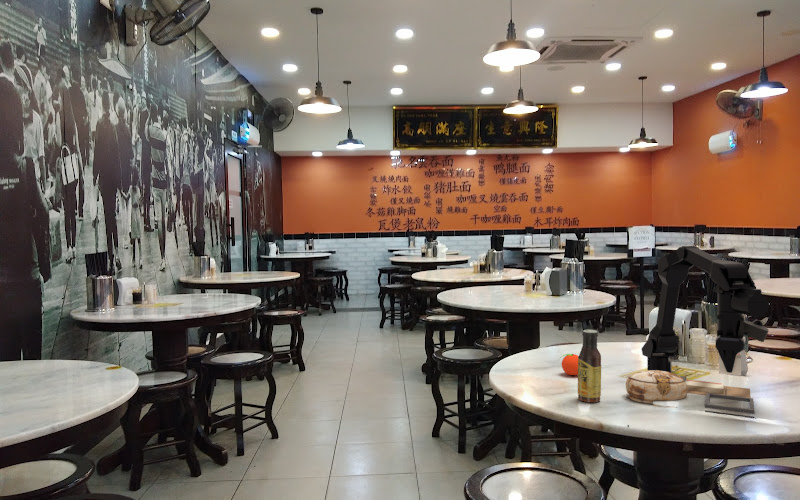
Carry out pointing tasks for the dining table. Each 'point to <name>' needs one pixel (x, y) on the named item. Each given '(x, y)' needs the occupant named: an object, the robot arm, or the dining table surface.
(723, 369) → the stub
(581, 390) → the sauce bottle
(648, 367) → the robot arm
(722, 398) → the tray
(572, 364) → the clementine
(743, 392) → the board
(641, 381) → the trinket box
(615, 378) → the dining table surface
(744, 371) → the salt shaker
